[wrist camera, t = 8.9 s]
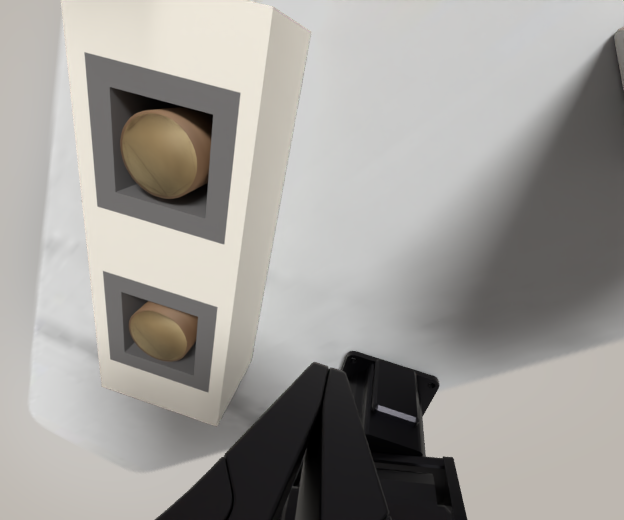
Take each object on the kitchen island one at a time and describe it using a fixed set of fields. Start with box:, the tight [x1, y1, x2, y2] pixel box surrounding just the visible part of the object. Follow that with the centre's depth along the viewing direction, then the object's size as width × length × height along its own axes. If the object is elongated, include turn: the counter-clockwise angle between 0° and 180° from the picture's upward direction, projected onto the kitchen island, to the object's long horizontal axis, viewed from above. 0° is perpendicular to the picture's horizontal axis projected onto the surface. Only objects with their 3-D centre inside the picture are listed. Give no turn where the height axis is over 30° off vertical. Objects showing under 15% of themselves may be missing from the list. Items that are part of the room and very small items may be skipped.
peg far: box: [129, 301, 198, 362], centre depth 22 cm, size 4×4×6 cm
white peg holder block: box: [61, 0, 311, 427], centre depth 20 cm, size 22×8×6 cm, turn 167°
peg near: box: [120, 107, 213, 199], centre depth 17 cm, size 4×4×6 cm
